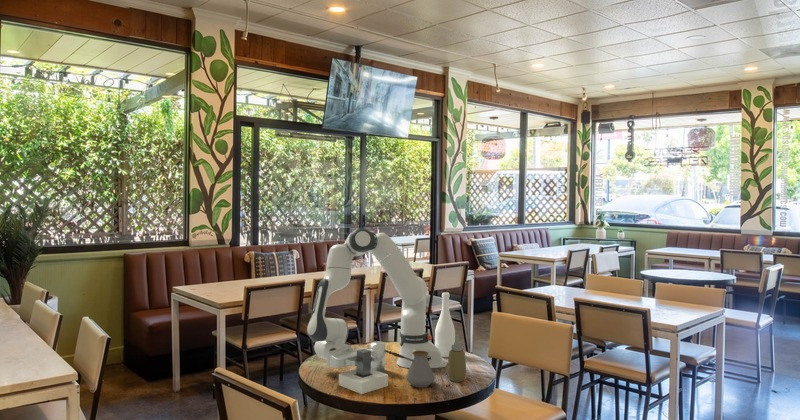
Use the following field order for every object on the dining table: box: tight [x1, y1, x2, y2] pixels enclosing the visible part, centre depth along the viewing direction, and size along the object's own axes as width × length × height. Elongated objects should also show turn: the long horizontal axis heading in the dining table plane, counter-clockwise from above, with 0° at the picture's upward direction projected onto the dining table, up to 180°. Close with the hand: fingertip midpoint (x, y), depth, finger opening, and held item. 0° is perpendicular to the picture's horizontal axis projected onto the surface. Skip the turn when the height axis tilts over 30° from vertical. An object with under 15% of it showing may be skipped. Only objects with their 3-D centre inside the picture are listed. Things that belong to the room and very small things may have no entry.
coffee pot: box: [383, 349, 435, 388], centre depth 226 cm, size 21×12×15 cm, turn 108°
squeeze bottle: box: [446, 336, 467, 383], centre depth 233 cm, size 8×8×18 cm
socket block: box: [338, 368, 389, 395], centre depth 225 cm, size 14×14×4 cm
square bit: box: [356, 348, 371, 378], centre depth 225 cm, size 4×4×14 cm
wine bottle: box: [434, 291, 456, 358], centre depth 269 cm, size 10×10×30 cm
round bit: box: [369, 340, 386, 373], centre depth 244 cm, size 7×7×12 cm
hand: (364, 361), depth 224 cm, fingers open, 8 cm apart
